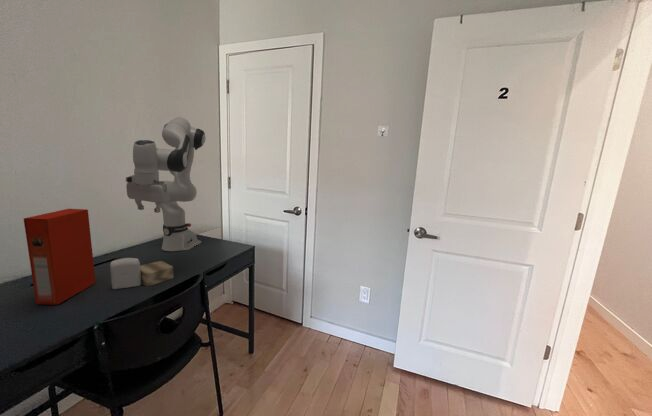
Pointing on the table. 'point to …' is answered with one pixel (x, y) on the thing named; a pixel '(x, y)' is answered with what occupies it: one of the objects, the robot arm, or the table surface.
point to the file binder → (60, 254)
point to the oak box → (155, 273)
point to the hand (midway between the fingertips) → (149, 211)
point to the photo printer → (125, 273)
